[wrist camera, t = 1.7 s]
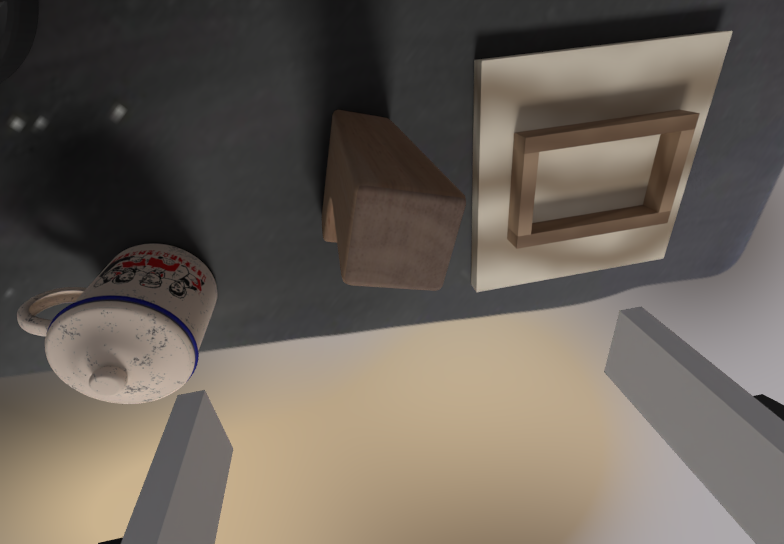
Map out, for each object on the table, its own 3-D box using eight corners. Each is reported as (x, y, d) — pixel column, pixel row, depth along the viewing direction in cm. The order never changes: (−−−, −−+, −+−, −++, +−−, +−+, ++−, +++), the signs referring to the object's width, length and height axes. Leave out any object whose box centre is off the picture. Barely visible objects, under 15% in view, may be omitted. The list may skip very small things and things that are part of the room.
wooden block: (372, 225, 35) (421, 371, 19) (321, 219, 34) (329, 370, 18) (391, 117, 30) (472, 196, 15) (332, 108, 29) (356, 181, 14)
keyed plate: (474, 59, 29) (492, 62, 26) (715, 31, 31) (757, 30, 28) (471, 284, 40) (484, 303, 37) (652, 251, 42) (678, 267, 39)
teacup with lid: (226, 250, 33) (190, 338, 24) (216, 334, 37) (181, 439, 28) (58, 220, 30) (-67, 309, 20) (66, 316, 34) (-35, 430, 24)
